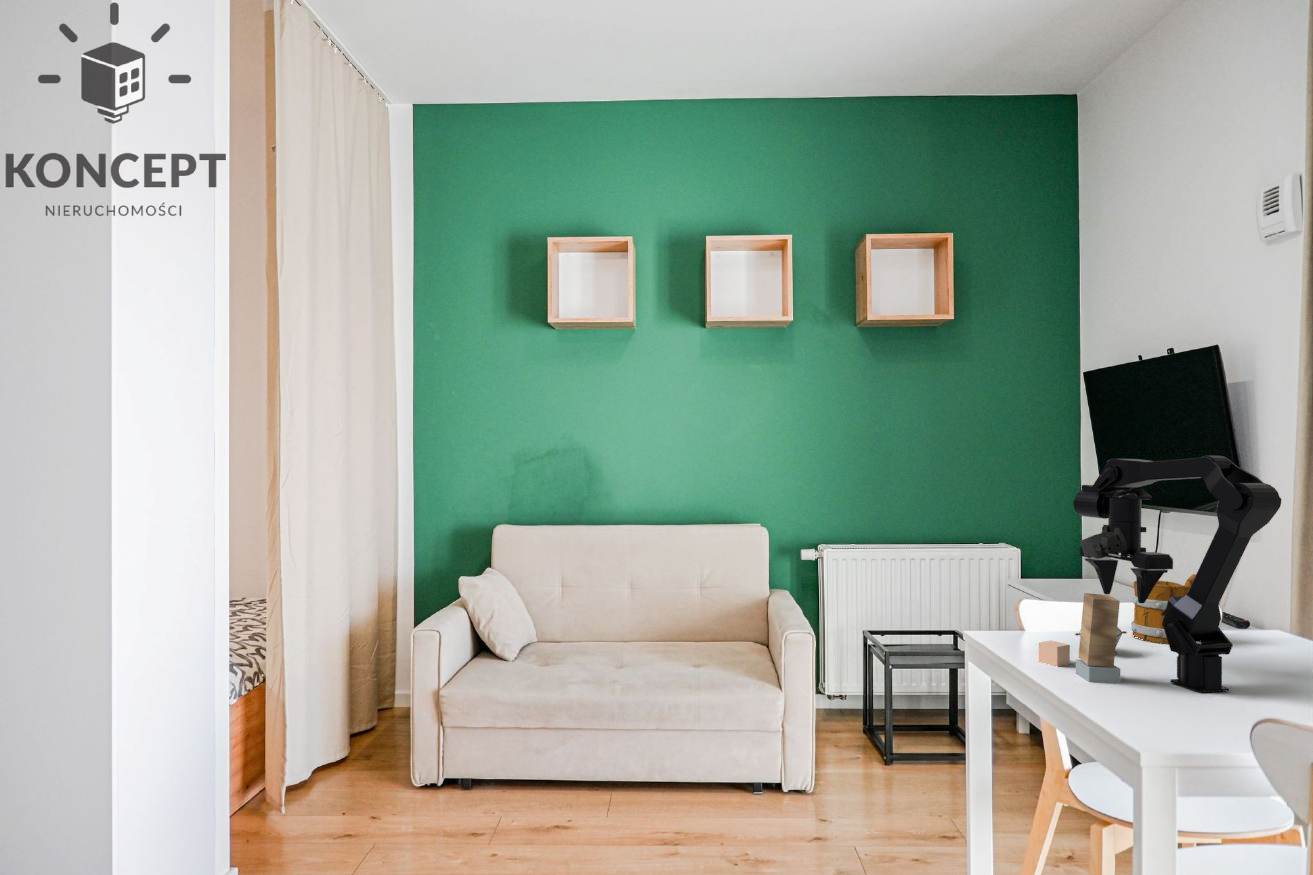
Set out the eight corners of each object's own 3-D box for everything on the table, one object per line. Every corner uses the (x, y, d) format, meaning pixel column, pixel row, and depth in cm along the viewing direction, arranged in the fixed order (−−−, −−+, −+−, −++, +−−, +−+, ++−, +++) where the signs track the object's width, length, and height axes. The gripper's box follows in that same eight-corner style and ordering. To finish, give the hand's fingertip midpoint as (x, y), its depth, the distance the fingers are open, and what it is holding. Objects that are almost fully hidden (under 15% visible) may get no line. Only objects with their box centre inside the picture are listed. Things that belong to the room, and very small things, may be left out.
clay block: (1069, 664, 157) (1069, 644, 157) (1057, 667, 155) (1057, 646, 155) (1051, 660, 160) (1051, 640, 161) (1038, 662, 158) (1038, 642, 159)
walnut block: (1103, 660, 149) (1109, 595, 149) (1113, 667, 145) (1119, 600, 144) (1078, 657, 150) (1084, 592, 149) (1087, 665, 146) (1093, 598, 145)
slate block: (1105, 676, 150) (1105, 660, 150) (1120, 685, 144) (1120, 668, 144) (1075, 675, 150) (1075, 659, 150) (1089, 683, 145) (1089, 667, 145)
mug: (1119, 632, 186) (1120, 569, 186) (1191, 634, 185) (1191, 570, 186) (1146, 644, 175) (1146, 576, 175) (1222, 646, 174) (1222, 578, 175)
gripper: (1057, 516, 166) (1056, 590, 166) (1123, 525, 148) (1122, 608, 148) (1104, 516, 168) (1103, 589, 168) (1175, 525, 150) (1174, 607, 150)
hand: (1123, 598), depth 158 cm, fingers open, 9 cm apart
